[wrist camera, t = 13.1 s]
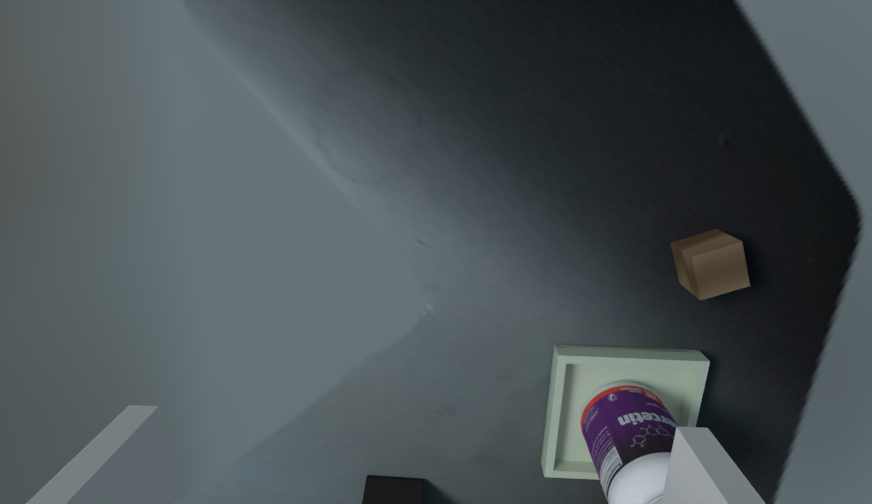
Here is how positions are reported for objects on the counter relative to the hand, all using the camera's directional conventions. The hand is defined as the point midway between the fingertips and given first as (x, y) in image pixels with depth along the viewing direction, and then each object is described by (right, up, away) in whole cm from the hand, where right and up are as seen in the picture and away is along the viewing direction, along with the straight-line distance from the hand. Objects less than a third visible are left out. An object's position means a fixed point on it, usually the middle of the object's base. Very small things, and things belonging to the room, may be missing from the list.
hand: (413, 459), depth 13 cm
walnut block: (+24, +5, +31) cm, 39 cm away
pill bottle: (+18, -10, +35) cm, 41 cm away
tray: (+18, -10, +36) cm, 41 cm away
